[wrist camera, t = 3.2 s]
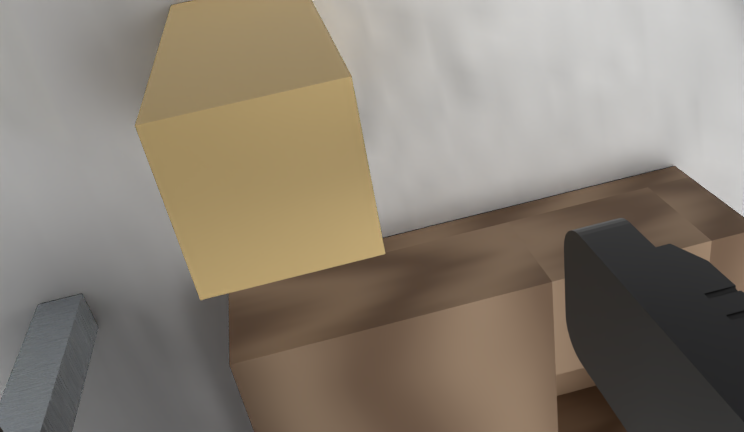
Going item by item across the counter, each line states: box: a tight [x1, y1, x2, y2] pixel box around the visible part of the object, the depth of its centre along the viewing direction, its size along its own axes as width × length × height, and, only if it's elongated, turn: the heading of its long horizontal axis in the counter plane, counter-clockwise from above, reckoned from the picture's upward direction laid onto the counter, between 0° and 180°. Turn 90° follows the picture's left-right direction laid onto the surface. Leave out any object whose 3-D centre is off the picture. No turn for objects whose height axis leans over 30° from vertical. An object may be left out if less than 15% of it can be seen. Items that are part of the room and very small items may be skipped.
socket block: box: [229, 166, 744, 432], centre depth 28 cm, size 18×14×5 cm
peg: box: [135, 0, 385, 300], centre depth 18 cm, size 4×4×10 cm
